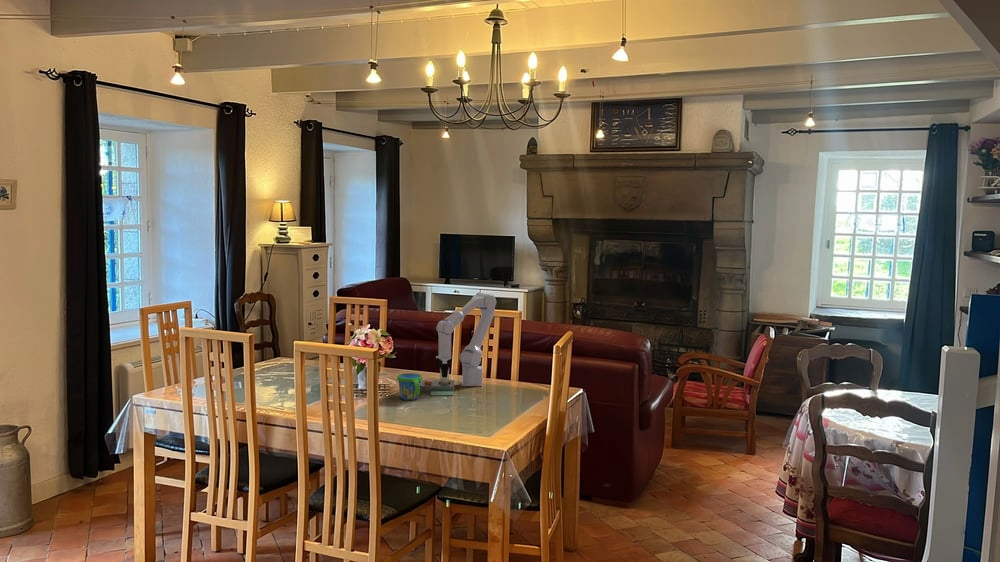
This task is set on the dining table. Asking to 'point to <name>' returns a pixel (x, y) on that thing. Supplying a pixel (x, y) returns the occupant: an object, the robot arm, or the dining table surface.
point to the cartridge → (444, 378)
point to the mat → (441, 393)
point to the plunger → (427, 381)
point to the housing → (437, 386)
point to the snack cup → (409, 386)
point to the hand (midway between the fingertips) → (444, 376)
